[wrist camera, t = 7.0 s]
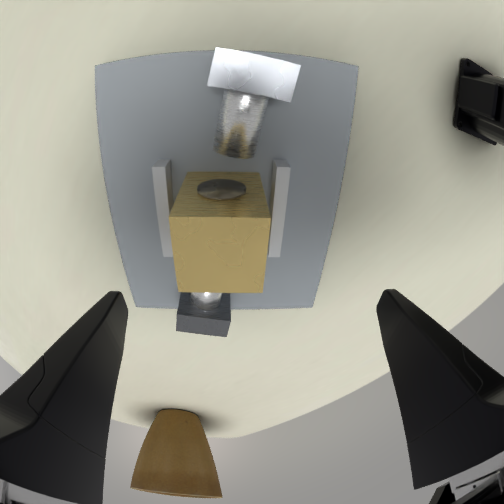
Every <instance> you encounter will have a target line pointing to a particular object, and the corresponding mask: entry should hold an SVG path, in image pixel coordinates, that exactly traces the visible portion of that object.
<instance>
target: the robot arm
mask: <svg viewBox="0 0 504 504" xmlns="http://www.w3.org/2000/svg"><path fill="white" fill-rule="evenodd" d="M466 63H467V65H466ZM454 127H455V128H456V129H459V130H461V131H463V132H466V133H468V134H471V135H473V136H475V137H477V138H480V139H482V140H484V141H486V142H488V143H490V144H493V145H496V144H497V143H499V144H501V145H503V146H504V78H501V77H497V76H494V75H492V74H491V73H489V72H488V71H486V70H485V69H484V68H482V67H480V66H479V65H477V64H476V63H474V62H473V61H471V60H469V59H467V58H462V60H461V70H460V80H459V89H458V97H457V104H456V111H455V117H454ZM376 310H377V316H378V321H379V326H380V330H381V336H382V341H383V345H384V350H385V353H386V357H387V360H388V364H389V367H390V371H391V375H392V378H393V382H394V386H395V390H396V394H397V398H398V402H399V407H400V411H401V416H402V420H403V425H404V430H405V435H406V440H407V446H408V452H409V458H410V465H411V471H412V478H413V486H414V489H419V488H422V487H425V486H428V485H431V484H433V483H436V482H439V481H442V480H444V479H447V478H449V482H447V483H445V484H444V485H442V486H440V487H438V488H437V489H436V491H435V493H434V495H433V497H432V499H431V501H430V503H429V504H504V377H503V376H502V375H500V374H499V373H498V372H497V371H495V370H494V369H493V368H492V367H490V366H489V365H488V364H486V363H485V362H484V361H483V360H481V359H480V358H479V357H477V356H476V355H475V354H474V353H473V352H471V351H470V350H469V349H468V348H467V347H466V346H464V345H463V344H462V343H461V342H460V341H459V340H458V339H456V338H455V337H454V336H453V335H452V334H450V333H449V332H448V331H447V330H446V329H445V328H443V327H442V326H441V325H440V324H438V323H437V322H436V321H435V320H434V319H432V318H431V317H430V316H429V315H427V314H426V313H425V312H424V311H422V310H421V309H420V308H419V307H417V306H416V305H415V304H414V303H412V302H411V301H410V300H409V299H407V298H406V297H405V296H403V295H402V294H401V293H400V292H398V291H397V290H395V289H386V290H384V291H383V293H382V296H381V298H380V300H379V302H378V304H377V309H376ZM127 319H128V308H127V305H126V303H125V300H124V297H123V294H122V293H121V292H119V291H110V292H108V293H107V294H106V295H105V296H104V297H103V298H101V299H100V300H99V301H98V302H97V303H96V304H95V305H94V306H93V307H92V308H91V309H89V310H88V311H87V312H86V313H85V314H84V315H83V316H82V317H81V318H80V319H79V320H78V321H77V322H76V323H75V324H74V325H72V326H71V327H70V328H69V329H68V330H67V331H66V332H65V333H64V334H63V335H62V336H61V337H60V338H59V339H58V340H57V341H56V342H55V343H54V344H53V345H52V346H51V347H50V348H49V349H48V350H47V351H46V352H45V353H44V356H43V355H42V356H41V357H40V358H39V359H38V360H37V361H36V362H35V363H34V364H33V365H32V366H31V367H30V368H29V369H28V370H27V371H26V372H25V373H24V374H23V375H22V376H21V377H20V378H19V379H18V380H17V381H16V382H15V383H13V384H12V385H11V386H10V387H9V388H8V389H7V390H6V391H5V392H3V394H1V395H0V504H102V500H103V483H104V470H105V457H106V448H107V440H108V432H109V425H110V419H111V413H112V406H113V401H114V395H115V390H116V385H117V379H118V375H119V370H120V365H121V361H122V356H123V349H124V341H125V333H126V326H127Z"/></svg>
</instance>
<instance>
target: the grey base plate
mask: <svg viewBox="0 0 504 504" xmlns="http://www.w3.org/2000/svg"><path fill="white" fill-rule="evenodd" d="M237 51H240V50H237ZM243 52H248V53H253V54H258V55H262V56H267V57H271V58H275V59H279V60H283V61H287V62H291V63H294V64H298V65H301V67H300V70H299V74H298V78H297V81H296V85H295V89H294V92H293V96H292V100H291V103H290V102H286V101H282V100H278V99H274V98H270V97H269V100H268V104H267V108H266V111H265V115H264V119H263V123H262V127H261V131H260V135H259V139H258V143H257V147H256V151H255V155H254V157H253V158H250V159H240V158H233V157H228V156H225V155H221V154H219V153H217V152H215V151H214V150H213V143H214V138H215V133H216V128H217V123H218V118H219V113H220V109H221V104H222V99H223V95H224V90H225V88H219V87H212V86H207V84H208V79H209V74H210V70H211V66H212V61H213V57H214V53H215V50H209V51H188V52H175V53H164V54H156V55H148V56H141V57H135V58H129V59H124V60H118V61H113V62H109V63H104V64H100V65H96V66H95V92H96V110H97V123H98V133H99V143H100V151H101V159H102V166H103V172H104V179H105V185H106V190H107V196H108V201H109V206H110V211H111V216H112V221H113V225H114V230H115V234H116V238H117V242H118V246H119V250H120V254H121V258H122V262H123V265H124V269H125V272H126V276H127V279H128V283H129V286H130V289H131V293H132V296H133V299H134V302H135V305H136V307H145V308H171V309H178V305H179V299H180V293H181V292H178V287H177V280H176V273H175V266H174V259H173V251H172V243H171V235H170V226H169V215H170V212H171V210H172V207H173V205H174V202H175V200H176V197H177V195H178V193H179V190H180V188H181V186H182V183H183V181H184V179H185V176H186V174H187V172H257V173H259V174H260V177H261V181H262V185H263V189H264V193H265V197H266V200H267V204H268V208H269V212H270V216H271V223H270V232H269V241H268V251H267V260H266V269H265V277H264V286H263V293H230V303H231V309H284V308H311V307H313V303H314V300H315V296H316V292H317V289H318V285H319V281H320V277H321V274H322V270H323V266H324V262H325V258H326V254H327V249H328V245H329V241H330V237H331V232H332V228H333V223H334V219H335V214H336V210H337V205H338V200H339V195H340V190H341V185H342V179H343V174H344V168H345V163H346V157H347V151H348V145H349V139H350V132H351V125H352V118H353V111H354V103H355V95H356V86H357V77H358V66H355V65H351V64H346V63H342V62H337V61H332V60H327V59H321V58H315V57H308V56H301V55H294V54H285V53H275V52H262V51H243Z"/></svg>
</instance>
